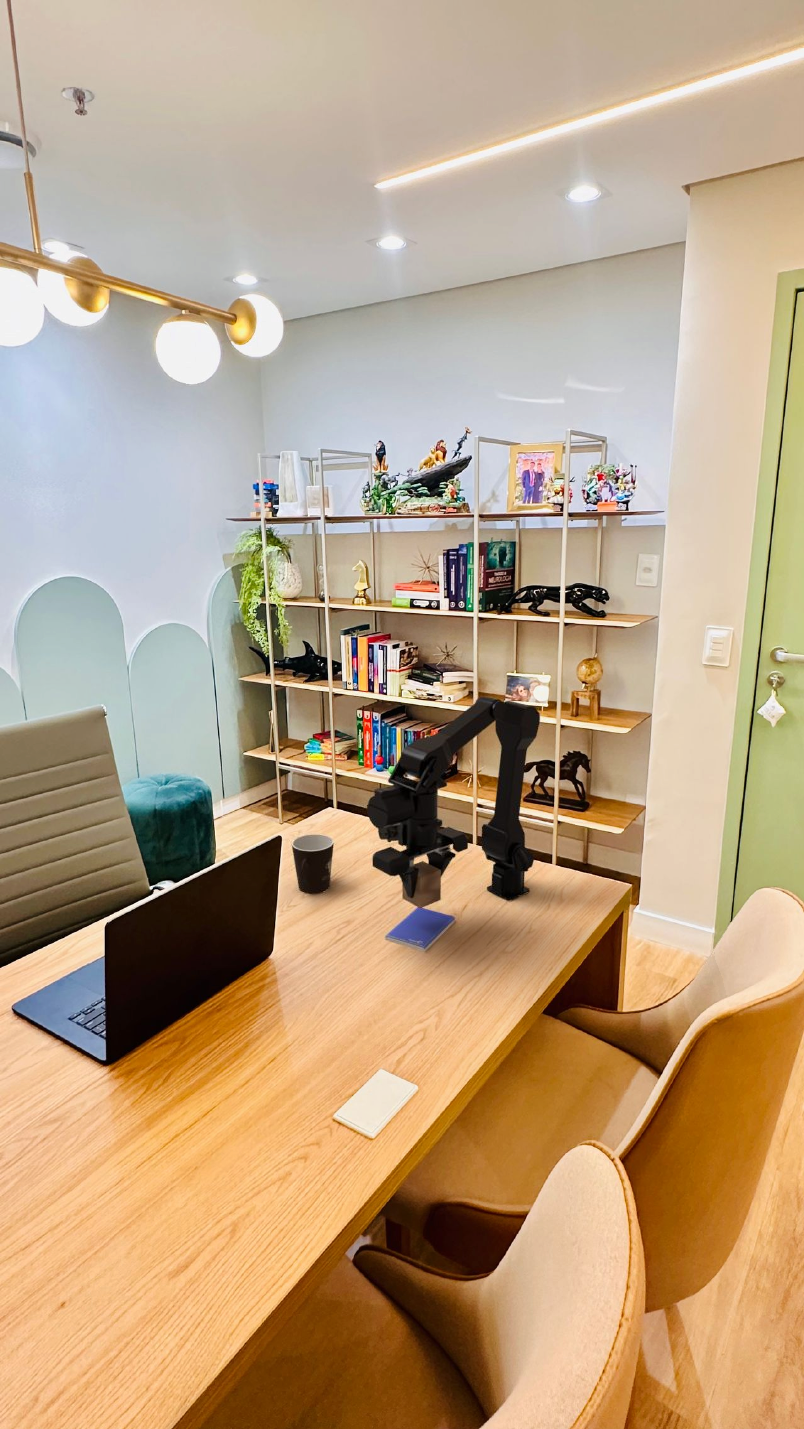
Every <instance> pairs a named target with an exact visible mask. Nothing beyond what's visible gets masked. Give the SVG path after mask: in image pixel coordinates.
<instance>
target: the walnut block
mask: <svg viewBox="0 0 804 1429" xmlns="http://www.w3.org/2000/svg"><path fill="white" fill-rule="evenodd" d="M414 867H416V868H418V869H419V872H418V877H417V883H416V888H415V893H414V896H413V898H409V897H408V896H407V893H406V891H405V888H404V886H403V883H402V882H401V883H402V886H401V887H402V900H405V901H407V902H408V903H410V904H412V905H414V906H415V907H416V908H417V907H418V908H425V907H428V906H430V905H431V904H434V903H437V902H438V901H441V899H442V898H441V893H442V892H441V890H442V888H441V887H442V877H441V870H440V869H438V868H436V867H434V866H432V865H430V864H428V862H425V861H423V860H422V861H419V862H417V863H414Z"/></svg>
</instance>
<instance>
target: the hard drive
mask: <svg viewBox="0 0 804 1429" xmlns="http://www.w3.org/2000/svg"><path fill="white" fill-rule="evenodd" d="M455 922H456V917H454V915H453V916H452V915H451V914H450V915H449V914H446V913H442V912H440V911H439V912H438V911H435V910H431V909H428V908H425V907H423V908H418V907H417V906H416V908H415V909H414V910H413V911H411V913H409V914H408V915H407V916H406V917H404V918H403V920H402V921H400V922H399V923H398V924H397V925H396V926H395V927H394V928H392V930H390V931H389V932H388V933H386V935H385V937H384V938H385V939H384V940H385V941H388V942H390V943H393V944H396V945H400V946H404V947H407V948H410V949H413V950H417V951H420V952H424V953H425V952H426V951H427V950H428V949H429V948H430V947H431V946H432V945H433V944H435V942H436V941H437V940H438V939H440V937H441V936H442V935H443V934H444V933H445V932H446V931H447V930H448V929H450V927H451V926H452V925H453V924H454V923H455Z"/></svg>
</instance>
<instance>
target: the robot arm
mask: <svg viewBox="0 0 804 1429" xmlns="http://www.w3.org/2000/svg"><path fill="white" fill-rule="evenodd" d="M494 722H495V724H494V726H495V728H494V729H495V733H496V736H497V739H498V742H499V743H500V749H501V750H500V757H499V758H500V759H499V767H498V777H497V783H496V784H497V786H496V794H495V795H496V796H495V802H494V803H495V804H494V813H493V816H492V817H491V819H490V820H489V822H488V823H483V824H482V826H481V836H480V837H481V838H480V839H479V843H480V844H481V849H482V851H483V852H484V855H485V858H486V860H488V861H491V862H493V863H494V864H493V865H492V872H491V885H488V886H487V887H486V890H487V891H488V892H491V893H492V894H495V895H496V896H499V897H501V898H503V899H505V900H507V901H512V900H515V899H516V898H519V897H521V896H523V895H525V894H528V893H529V892H530V891H531V890H530V888H529V887H527V886H525V874H526V873H525V872H528V871H529V870H530V868H533V865H534V861H535V856H534V855H533V854H532V853H531V852H530V850H528V849H527V848H526V835H525V834H526V833H525V831H524V828H523V825H522V822H521V821H520V811H521V802H522V796H523V795H522V794H523V786H524V785H523V784H524V777H525V775H524V774H525V770H526V769H525V768H526V760H527V754H528V753H527V751H528V749H529V747H530V746H531V745H532V743H533V742H534V740H536V738H537V735H538V731H539V727H540V723H541V714H540V712H539V711H538V709H537V707H535V706H534V705H533V706H532V705H529V704H525V703H520V702H516V701H512V700H506V701H503V700H502V699H499V698H495V697H492V696H491V697H490V696H486V695H483V696H480V697H478V698H477V699H476V700H475V701H474V704H472V705H471V706H469V707H468V708H467V709H465V710H464V711H463V712H462V713H460V714H459V715H458V716H457V717H456V718H454V719H453V720H451V722H449V723H448V724H447V725H445V726H444V727H443V728H441V730H439V731H438V732H437V733H434V734H432V735H429V736H424V737H421V738H420V737H419V739H416V740H414V741H413V742H411V743H409V744H407V745H405V747H404V748H402V750H401V752H400V754H401V755H400V757H399V759H398V761H397V762H396V764H395V766H394V768H393V770H392V772H391V774H390V776H389V778H388V780H387V783H389V784H391V785H389V786H386V787H378V788H375V789H374V795H373V796H371V797H370V798H369V800H368V803H367V804H366V812H367V816H368V819H369V821H370V822H371V824H372V825H373V826H374V827H375V828H377V831H378V832H377V833H378V837H379V839H380V840H382V841H385V840H387V843H391V842H397V844H398V845H399V846H401V847H405V849H403V850H398V849H396V848H394V847H392V846H389V847H386V848H383V849H381V850H378V851H376V852H374V853H373V854H372V867H373V868H375V869H377V870H379V871H381V873H384V874H386V875H388V876H389V877H397V876H399V879H400V881H401V883H403V886H404V888H405V891H406V893H407V896H408V897H409V898H413V896H414V893H415V888H416V883H417V877H418V872H419V869H418V868H416V867H414V864H415V863H414V862H415V859H417V858H420V857H423V856H425V855H426V857H427V859H428V860H427V861H428V862H427V863H428V864H430V865H432V866H434V867H436V868H438V869H440V870H441V878H442V876H443V875H444V873H445V871H446V870H447V868H448V867H449V865H450V863H451V861H452V860H453V859H454V858H456V853H454V852H457V853H460V852H463V851H465V850H468V849H469V846H468V845H469V839H468V837H467V835H466V833H465V832H462V831H460V830H458V829H455V828H454V827H451V826H446V827H444V828H443V820H442V819H440V818H438V815H439V814H438V808H439V807H438V803H439V800H438V799H439V798H438V796H439V794H438V793H439V790H440V789H443V788H445V787H447V786H448V783H447V782H446V781H445V780H444V779H442V778H441V777H442V775H443V774H444V773H445V772H446V771H447V769H448V768H449V767H450V766H451V763H452V759H453V757H454V756H455V754H457V752H459V751H460V750H461V749H462V748H464V747H465V746H466V745H468V743H470V742H471V741H472V740H474V739H475V738H476V737H478V735H480V734H481V733H482V732H483V731H484V730H486V729H488V727H489V726H491V725H492V724H493V723H494ZM406 775H408V776H411V777H413V778H415V779H418V780H414V779H412V778H410V777H409V778H408V777H406ZM439 827H442V828H440V829H438V828H439ZM451 845H452V849H453V850H454V852H453V851H451V850H452V849H451Z"/></svg>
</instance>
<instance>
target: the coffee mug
mask: <svg viewBox="0 0 804 1429" xmlns="http://www.w3.org/2000/svg"><path fill="white" fill-rule="evenodd" d="M334 843H335V840H334V838H333V837H331V836H329V835H326V834H320V833H310V834H304V835H300V836H298V837H296V838H294V839H293V840H292V841H291V849H292V855H293V862H294V868H295V873H296V878H297V885H298V890H299V891H300V892H302V893H304V894H308V895H318V894H322V893H324V891H325V892H327V891H328V890H329V888H330V884H331V875H332V874H331V873H332V864H333V854H334V845H335V844H334Z"/></svg>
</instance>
